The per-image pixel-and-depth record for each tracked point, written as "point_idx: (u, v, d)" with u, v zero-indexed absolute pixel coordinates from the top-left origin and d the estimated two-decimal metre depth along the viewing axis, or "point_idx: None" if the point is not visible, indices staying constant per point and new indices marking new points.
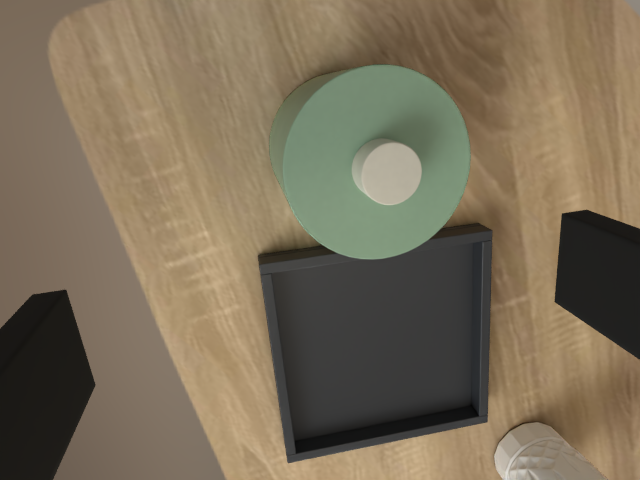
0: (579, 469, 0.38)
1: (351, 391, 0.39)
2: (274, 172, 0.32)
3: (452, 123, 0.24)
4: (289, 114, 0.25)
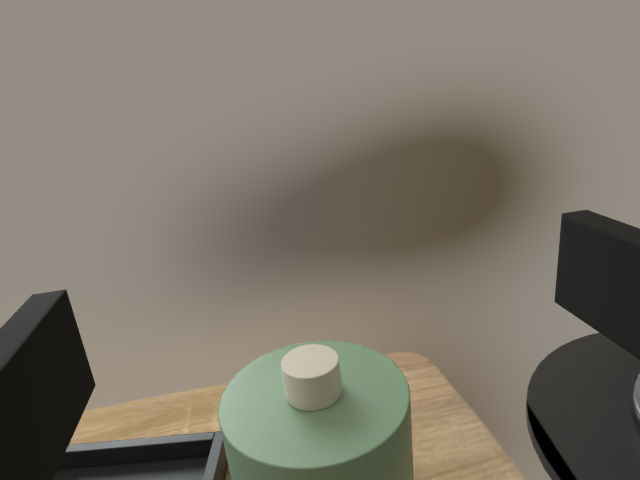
0: None
1: None
2: None
3: (354, 445, 0.21)
4: None
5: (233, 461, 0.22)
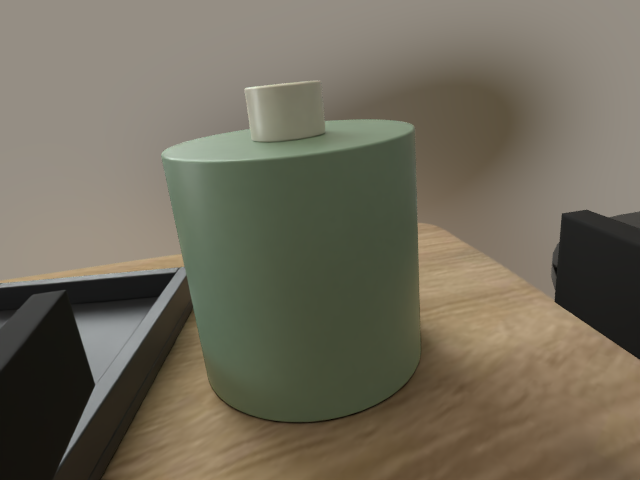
0: None
1: None
2: None
3: (336, 146, 0.15)
4: None
5: (176, 191, 0.16)
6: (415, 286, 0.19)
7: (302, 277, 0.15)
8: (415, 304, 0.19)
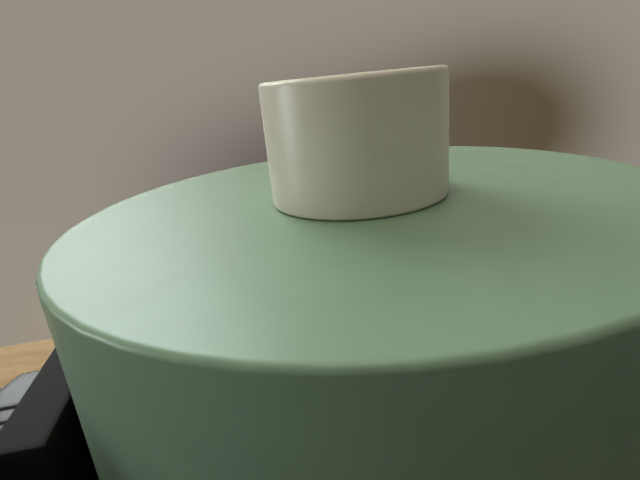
0: None
1: None
2: None
3: (590, 281, 0.04)
4: None
5: (66, 378, 0.06)
6: None
7: None
8: None
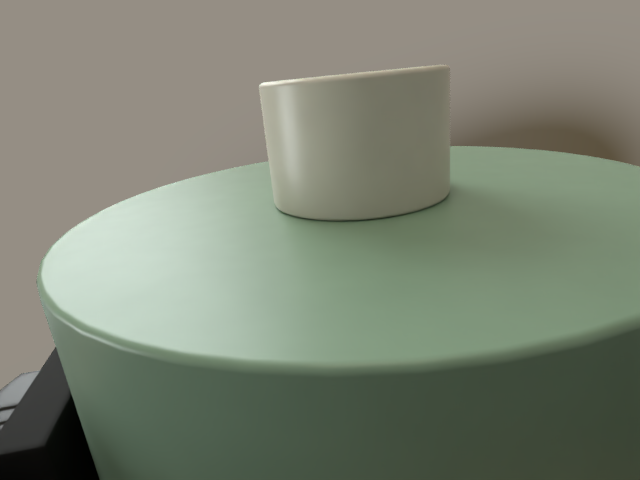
0: None
1: None
2: None
3: (592, 281, 0.04)
4: None
5: (67, 378, 0.06)
6: None
7: None
8: None
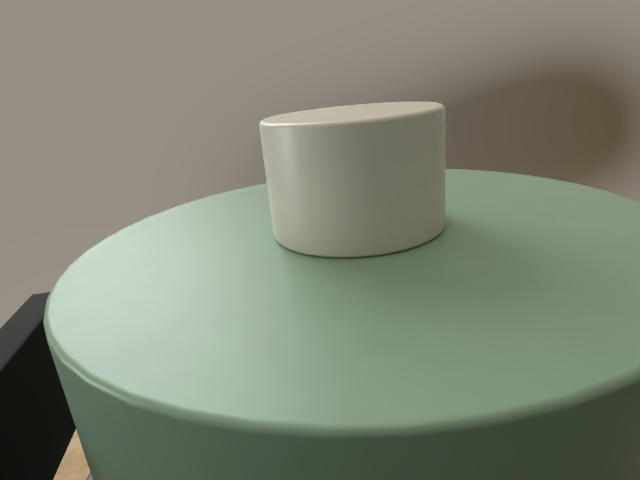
0: None
1: None
2: None
3: (578, 336, 0.04)
4: None
5: (72, 416, 0.06)
6: None
7: None
8: None
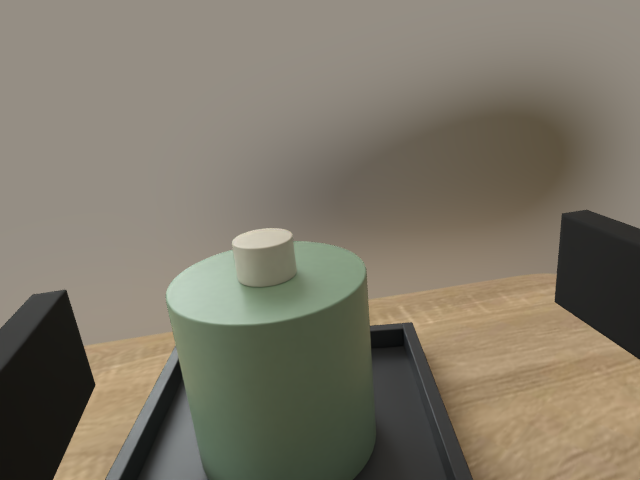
0: None
1: None
2: None
3: (300, 308, 0.20)
4: None
5: (177, 332, 0.21)
6: (367, 395, 0.24)
7: (274, 405, 0.20)
8: (368, 408, 0.24)
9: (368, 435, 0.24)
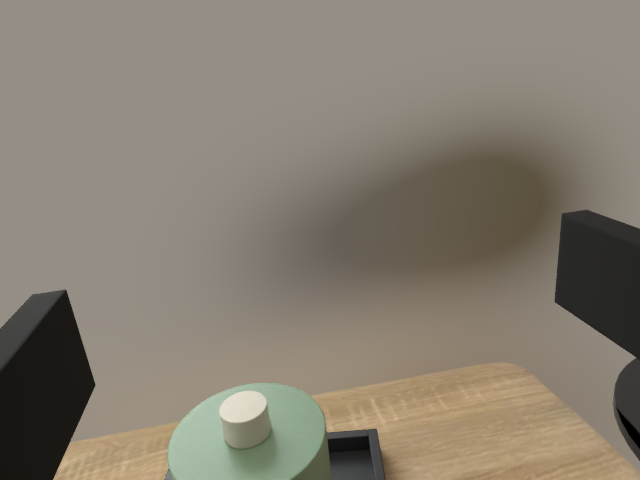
0: None
1: None
2: None
3: None
4: None
5: None
6: None
7: None
8: None
9: None
